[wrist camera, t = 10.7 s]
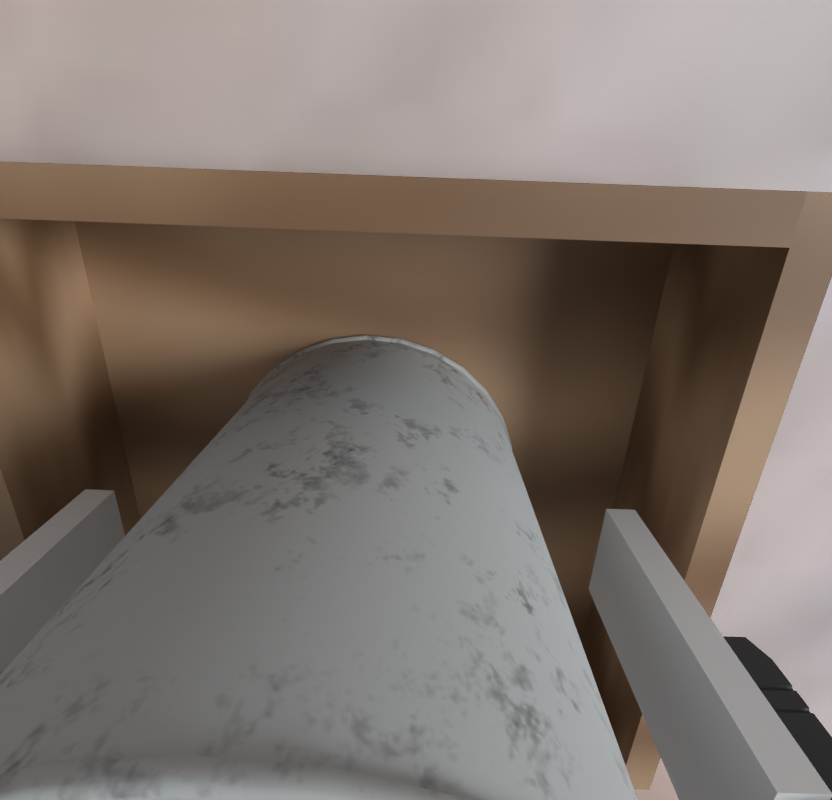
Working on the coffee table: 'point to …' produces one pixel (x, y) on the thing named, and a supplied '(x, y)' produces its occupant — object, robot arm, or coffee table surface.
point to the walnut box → (416, 340)
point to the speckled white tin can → (323, 614)
